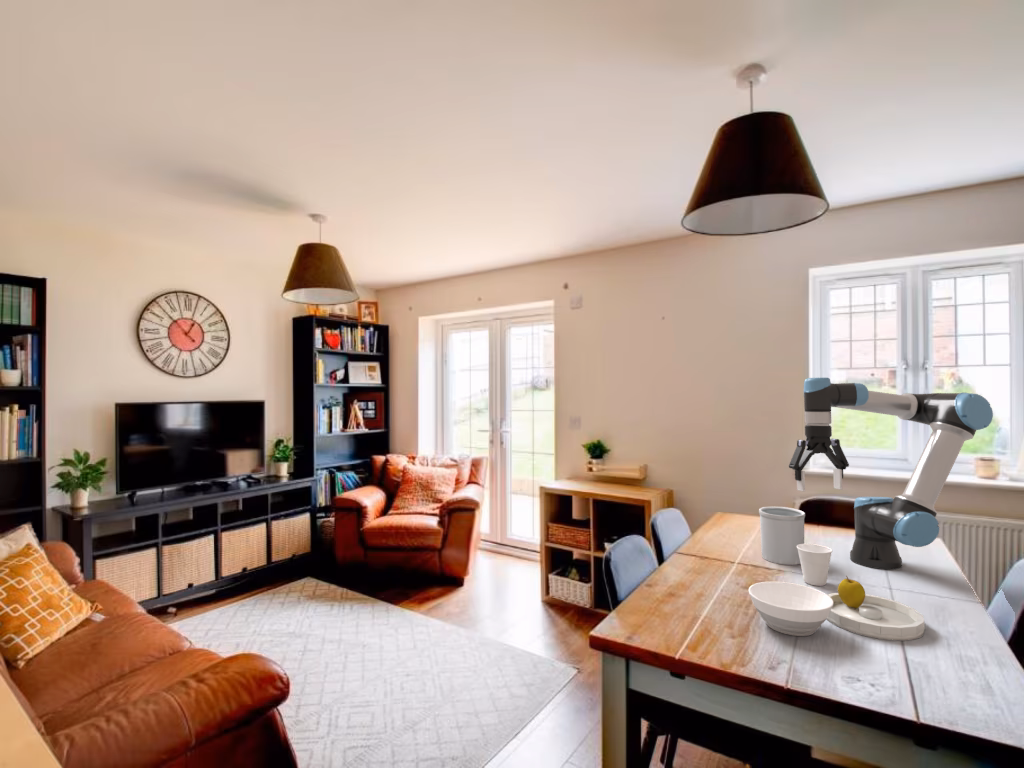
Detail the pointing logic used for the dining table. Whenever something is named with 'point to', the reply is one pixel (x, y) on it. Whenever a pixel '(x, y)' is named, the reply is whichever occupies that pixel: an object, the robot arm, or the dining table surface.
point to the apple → (851, 592)
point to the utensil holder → (781, 534)
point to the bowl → (791, 607)
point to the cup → (814, 563)
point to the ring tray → (883, 628)
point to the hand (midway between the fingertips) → (819, 489)
